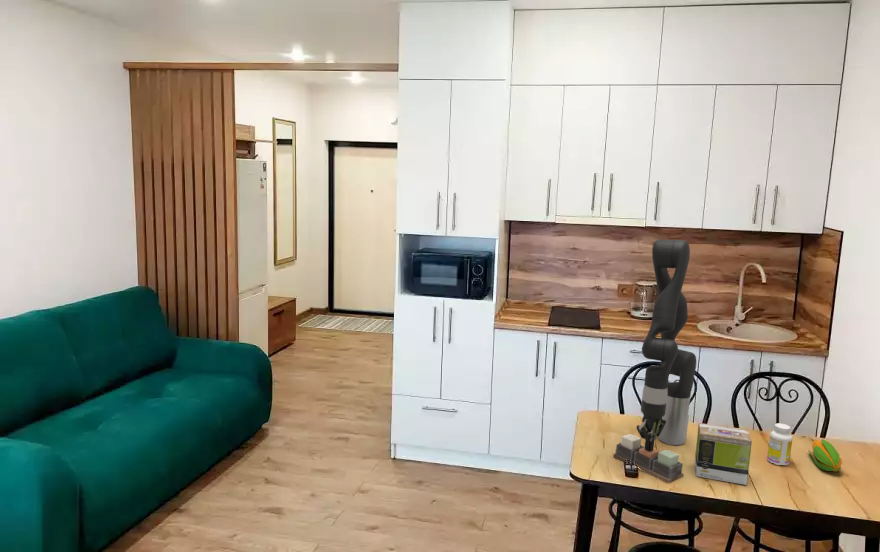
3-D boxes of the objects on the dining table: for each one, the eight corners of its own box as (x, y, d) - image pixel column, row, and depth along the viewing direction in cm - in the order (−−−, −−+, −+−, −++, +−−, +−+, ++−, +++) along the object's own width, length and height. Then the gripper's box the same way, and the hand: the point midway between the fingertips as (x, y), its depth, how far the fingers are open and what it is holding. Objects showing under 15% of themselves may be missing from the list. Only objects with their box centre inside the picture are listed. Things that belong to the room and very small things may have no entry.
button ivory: (628, 445, 218) (630, 433, 217) (639, 449, 214) (641, 438, 214) (620, 448, 215) (621, 436, 214) (631, 453, 212) (632, 441, 211)
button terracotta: (646, 457, 213) (647, 446, 212) (657, 462, 209) (659, 451, 208) (637, 460, 210) (639, 449, 209) (649, 466, 206) (650, 454, 206)
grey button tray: (628, 451, 220) (629, 439, 220) (683, 476, 204) (684, 463, 203) (613, 457, 216) (614, 444, 215) (668, 483, 199) (670, 469, 198)
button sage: (665, 461, 207) (666, 449, 206) (677, 466, 203) (678, 454, 203) (657, 464, 204) (658, 452, 203) (669, 470, 201) (670, 458, 200)
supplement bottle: (784, 458, 220) (789, 423, 218) (791, 467, 214) (797, 431, 212) (763, 456, 221) (768, 421, 219) (770, 465, 215) (775, 428, 213)
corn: (824, 452, 208) (804, 428, 227) (819, 474, 210) (800, 449, 229) (849, 457, 207) (827, 433, 226) (844, 479, 208) (822, 453, 227)
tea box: (743, 472, 209) (749, 429, 206) (746, 486, 200) (753, 441, 197) (693, 463, 214) (698, 421, 211) (694, 476, 204) (700, 432, 202)
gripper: (656, 392, 213) (651, 441, 216) (631, 399, 205) (626, 450, 208) (676, 399, 207) (670, 450, 210) (652, 406, 199) (646, 459, 202)
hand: (648, 450), depth 209 cm, fingers closed
